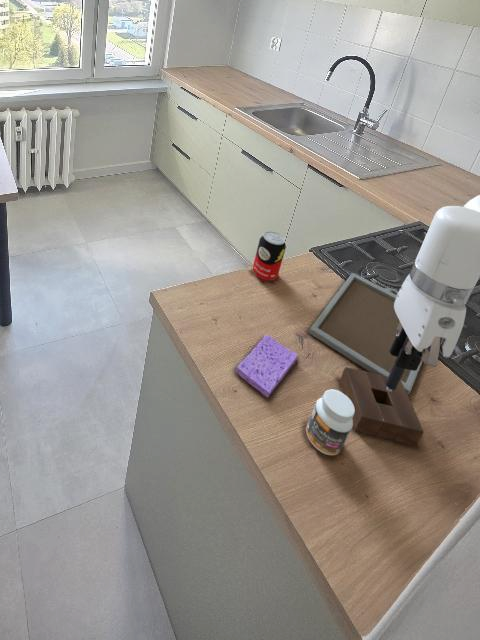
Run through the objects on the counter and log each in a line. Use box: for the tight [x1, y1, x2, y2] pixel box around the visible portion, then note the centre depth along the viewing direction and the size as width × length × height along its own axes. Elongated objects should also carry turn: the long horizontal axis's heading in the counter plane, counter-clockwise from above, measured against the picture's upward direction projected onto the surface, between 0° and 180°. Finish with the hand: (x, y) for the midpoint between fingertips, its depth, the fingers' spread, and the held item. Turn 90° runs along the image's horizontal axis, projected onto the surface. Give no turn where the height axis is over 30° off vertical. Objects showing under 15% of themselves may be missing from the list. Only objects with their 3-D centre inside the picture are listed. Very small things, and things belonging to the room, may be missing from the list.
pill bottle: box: [305, 389, 355, 456], centre depth 71 cm, size 6×6×10 cm
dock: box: [339, 366, 425, 446], centre depth 78 cm, size 10×10×4 cm
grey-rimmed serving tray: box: [308, 272, 424, 396], centre depth 97 cm, size 19×2×30 cm
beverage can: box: [252, 231, 287, 281], centre depth 108 cm, size 6×6×12 cm
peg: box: [386, 336, 409, 392], centre depth 73 cm, size 2×2×13 cm
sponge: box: [235, 333, 299, 399], centre depth 85 cm, size 7×13×2 cm, turn 132°
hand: (402, 360), depth 73 cm, fingers closed on peg, 1 cm apart
